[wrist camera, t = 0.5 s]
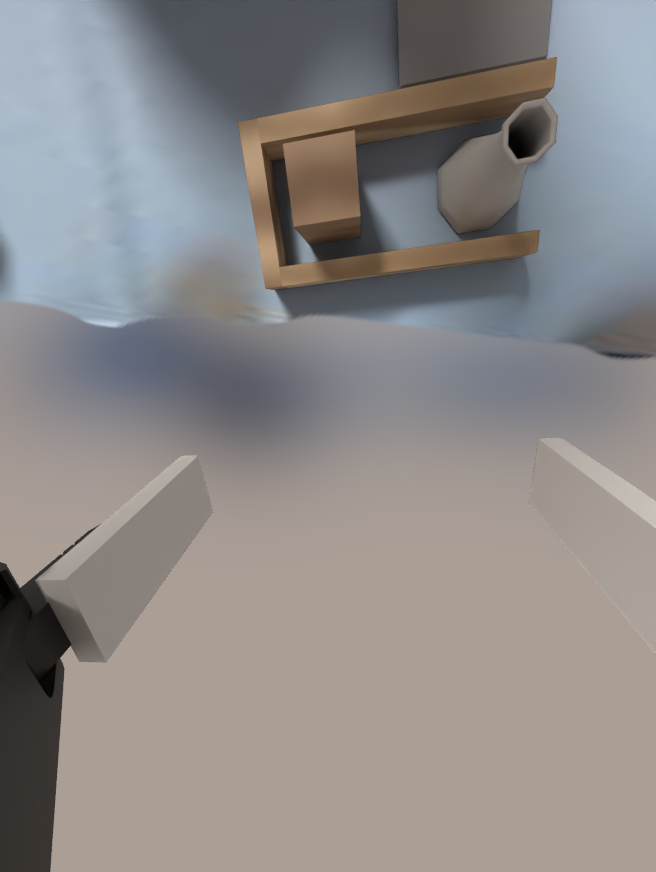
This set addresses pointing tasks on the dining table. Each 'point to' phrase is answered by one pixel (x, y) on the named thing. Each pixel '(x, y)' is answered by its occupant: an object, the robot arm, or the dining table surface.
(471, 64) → the coaster
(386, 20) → the dining table surface
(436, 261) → the rack
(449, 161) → the flask
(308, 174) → the walnut block
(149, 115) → the dining table surface
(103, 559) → the robot arm
